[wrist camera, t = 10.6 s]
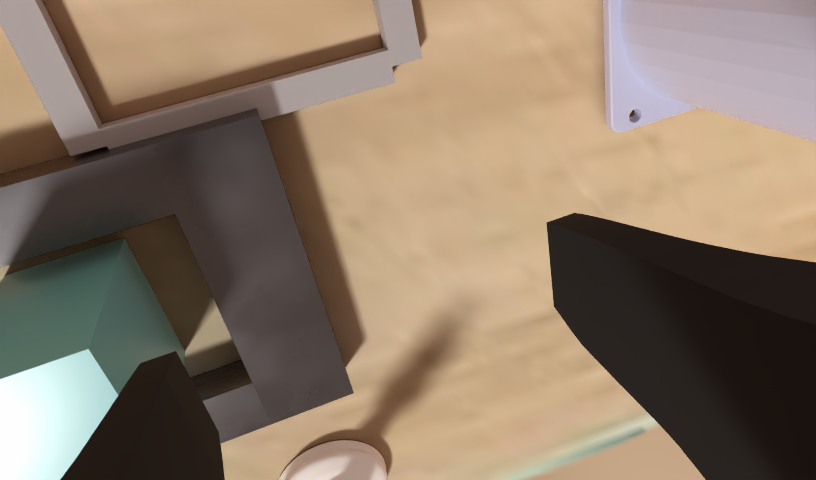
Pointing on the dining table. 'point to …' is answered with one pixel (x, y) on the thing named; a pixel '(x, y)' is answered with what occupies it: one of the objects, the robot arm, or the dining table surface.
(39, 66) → the open picture frame
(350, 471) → the chess piece
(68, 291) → the plug
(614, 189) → the dining table surface
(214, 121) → the port block
